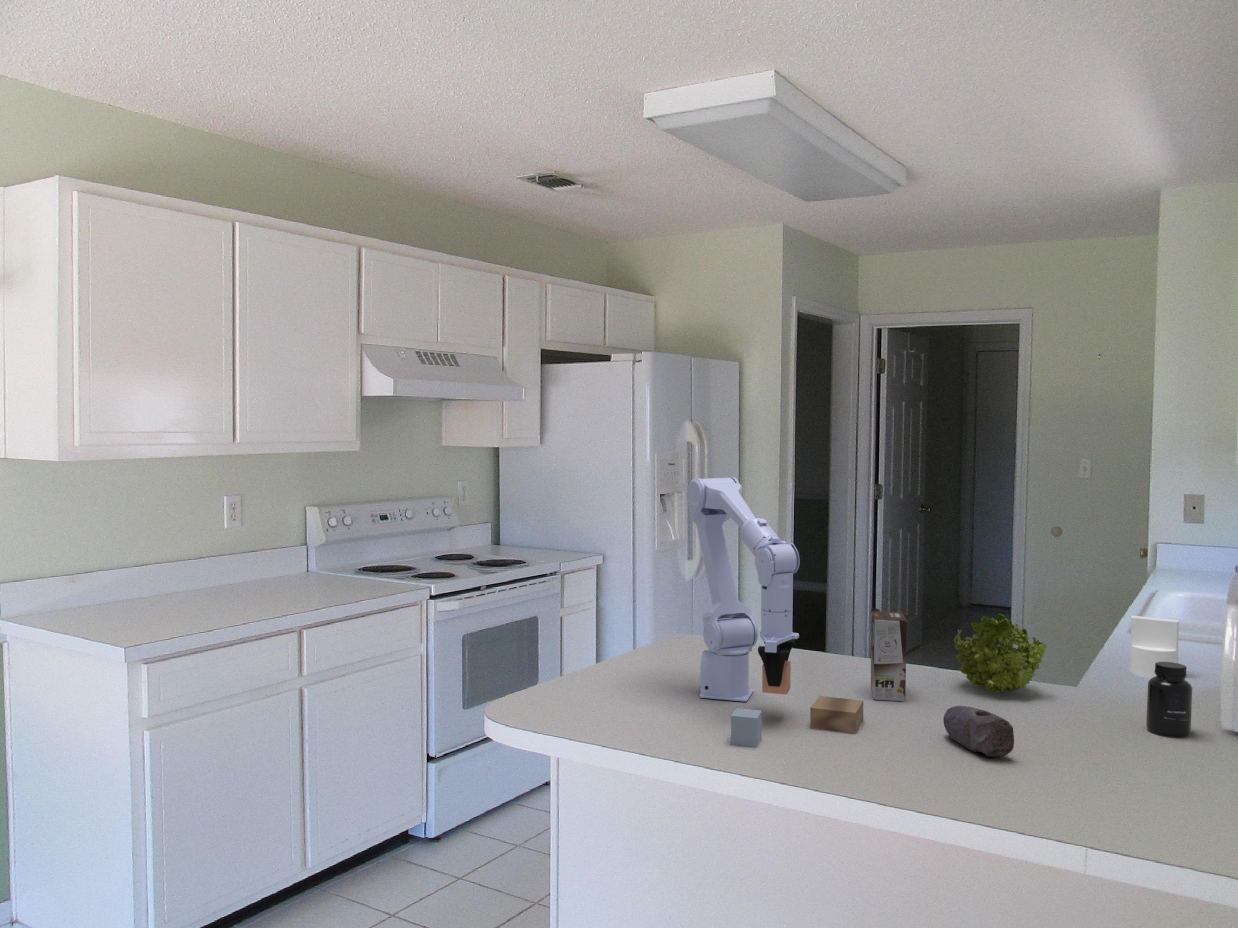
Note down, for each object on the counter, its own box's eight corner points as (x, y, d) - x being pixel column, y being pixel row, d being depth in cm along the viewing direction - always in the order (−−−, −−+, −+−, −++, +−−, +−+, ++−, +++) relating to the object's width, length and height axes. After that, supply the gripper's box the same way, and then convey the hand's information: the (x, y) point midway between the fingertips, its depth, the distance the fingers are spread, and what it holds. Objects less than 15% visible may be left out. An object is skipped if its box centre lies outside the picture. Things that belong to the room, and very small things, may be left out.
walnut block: (810, 729, 171) (810, 707, 171) (819, 716, 178) (819, 695, 178) (855, 735, 168) (855, 712, 168) (863, 722, 175) (863, 700, 175)
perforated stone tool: (933, 735, 167) (933, 696, 166) (958, 732, 168) (959, 693, 168) (990, 765, 152) (990, 722, 152) (1017, 761, 154) (1018, 719, 153)
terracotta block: (762, 692, 175) (762, 665, 174) (766, 685, 179) (766, 659, 179) (786, 694, 173) (787, 667, 173) (790, 687, 178) (790, 661, 177)
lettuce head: (1069, 669, 192) (1048, 628, 183) (1017, 724, 191) (994, 686, 181) (998, 624, 207) (976, 584, 197) (949, 675, 205) (925, 637, 196)
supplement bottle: (1175, 740, 163) (1177, 671, 163) (1137, 729, 169) (1139, 662, 169) (1199, 734, 167) (1201, 666, 166) (1161, 723, 173) (1163, 657, 172)
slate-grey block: (730, 744, 163) (731, 715, 162) (736, 736, 167) (736, 708, 167) (757, 747, 161) (757, 718, 161) (761, 738, 165) (761, 710, 165)
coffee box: (906, 701, 186) (907, 620, 186) (872, 700, 188) (873, 618, 187) (902, 688, 195) (903, 610, 194) (870, 687, 197) (870, 609, 196)
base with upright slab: (1178, 671, 207) (1179, 617, 207) (1176, 681, 200) (1178, 624, 199) (1131, 666, 212) (1132, 612, 212) (1128, 675, 205) (1129, 620, 204)
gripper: (793, 618, 167) (792, 694, 168) (803, 603, 181) (803, 673, 182) (753, 616, 169) (753, 691, 170) (766, 600, 183) (766, 670, 184)
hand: (776, 682), depth 176 cm, fingers closed on terracotta block, 4 cm apart
